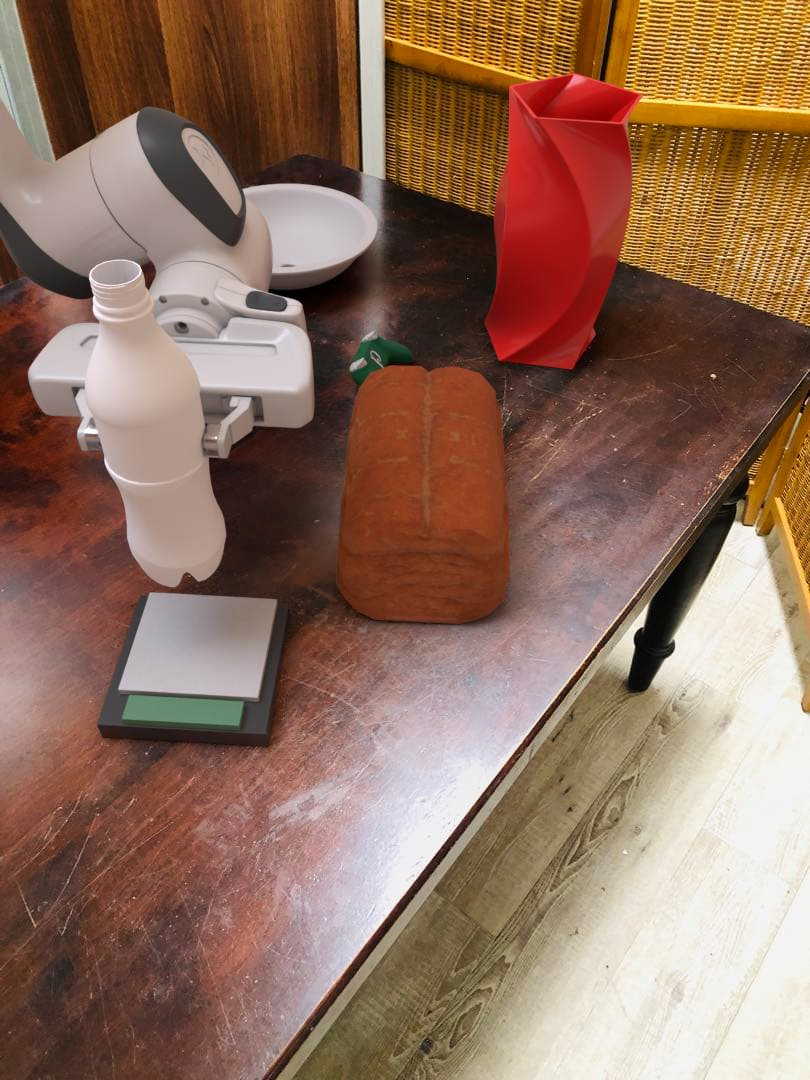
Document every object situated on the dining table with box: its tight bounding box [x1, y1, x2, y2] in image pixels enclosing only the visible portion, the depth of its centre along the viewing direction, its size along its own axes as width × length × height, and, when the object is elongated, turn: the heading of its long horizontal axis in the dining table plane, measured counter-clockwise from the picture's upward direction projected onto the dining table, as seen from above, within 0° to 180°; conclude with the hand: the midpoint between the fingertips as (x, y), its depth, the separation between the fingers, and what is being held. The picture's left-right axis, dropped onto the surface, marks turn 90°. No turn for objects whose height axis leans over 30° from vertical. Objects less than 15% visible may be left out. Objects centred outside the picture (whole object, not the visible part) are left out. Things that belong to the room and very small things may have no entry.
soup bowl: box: [242, 183, 379, 291], centre depth 115 cm, size 24×24×7 cm
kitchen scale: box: [96, 591, 292, 747], centre depth 72 cm, size 13×13×2 cm
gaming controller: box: [349, 330, 414, 387], centre depth 101 cm, size 9×4×6 cm
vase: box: [483, 72, 644, 370], centre depth 99 cm, size 15×14×28 cm
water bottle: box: [85, 260, 227, 588], centre depth 60 cm, size 7×7×25 cm
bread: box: [336, 364, 511, 625], centre depth 82 cm, size 16×27×11 cm, turn 178°
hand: (152, 447), depth 59 cm, fingers closed on water bottle, 7 cm apart
